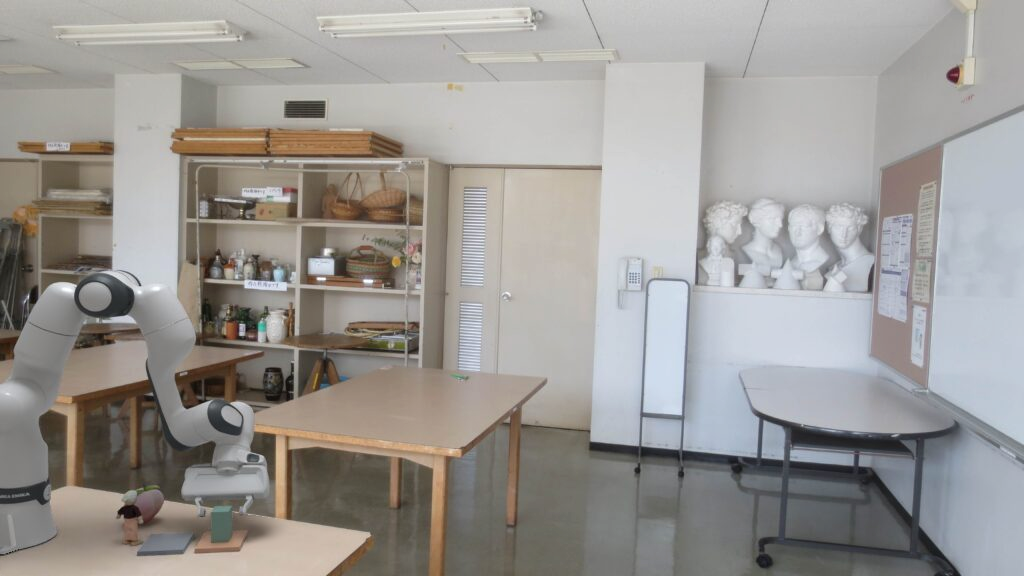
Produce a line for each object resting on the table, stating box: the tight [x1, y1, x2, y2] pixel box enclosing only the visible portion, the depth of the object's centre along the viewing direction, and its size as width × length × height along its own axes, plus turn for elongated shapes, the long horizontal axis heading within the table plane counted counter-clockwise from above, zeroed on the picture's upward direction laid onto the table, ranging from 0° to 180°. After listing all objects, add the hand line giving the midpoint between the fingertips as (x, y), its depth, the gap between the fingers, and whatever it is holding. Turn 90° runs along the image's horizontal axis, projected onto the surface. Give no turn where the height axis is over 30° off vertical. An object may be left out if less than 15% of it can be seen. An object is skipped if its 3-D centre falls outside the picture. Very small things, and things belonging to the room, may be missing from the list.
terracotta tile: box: [194, 529, 249, 554], centre depth 172 cm, size 10×10×1 cm
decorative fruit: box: [123, 484, 165, 524], centre depth 182 cm, size 9×8×10 cm
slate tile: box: [136, 531, 196, 557], centre depth 170 cm, size 10×10×1 cm
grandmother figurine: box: [115, 489, 144, 546], centre depth 171 cm, size 8×4×13 cm, turn 84°
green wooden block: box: [210, 504, 233, 543], centre depth 172 cm, size 4×4×8 cm
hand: (221, 515), depth 171 cm, fingers open, 8 cm apart
